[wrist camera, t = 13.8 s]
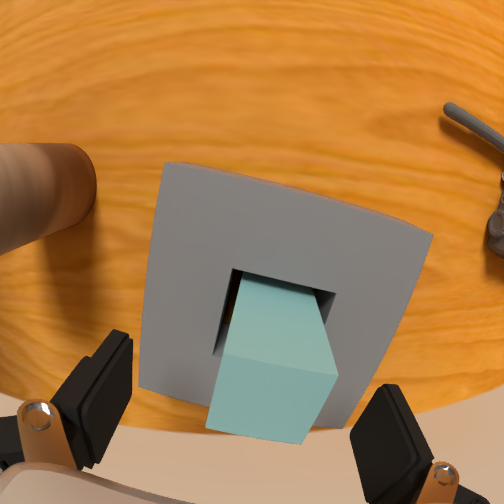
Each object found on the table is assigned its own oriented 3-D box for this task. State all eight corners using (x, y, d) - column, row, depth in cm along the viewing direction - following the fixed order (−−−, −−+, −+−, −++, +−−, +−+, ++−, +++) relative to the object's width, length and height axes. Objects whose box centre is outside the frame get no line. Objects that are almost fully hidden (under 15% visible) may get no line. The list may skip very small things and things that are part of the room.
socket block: (186, 162, 18) (164, 162, 14) (404, 220, 18) (433, 234, 14) (156, 354, 22) (138, 386, 18) (333, 393, 22) (342, 428, 18)
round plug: (41, 140, 18) (-64, 144, 8) (103, 148, 18) (-11, 148, 8) (32, 217, 19) (-65, 253, 10) (91, 234, 19) (-12, 286, 10)
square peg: (245, 260, 19) (223, 352, 10) (307, 275, 19) (338, 375, 10) (232, 315, 20) (205, 427, 11) (290, 329, 20) (301, 444, 11)
